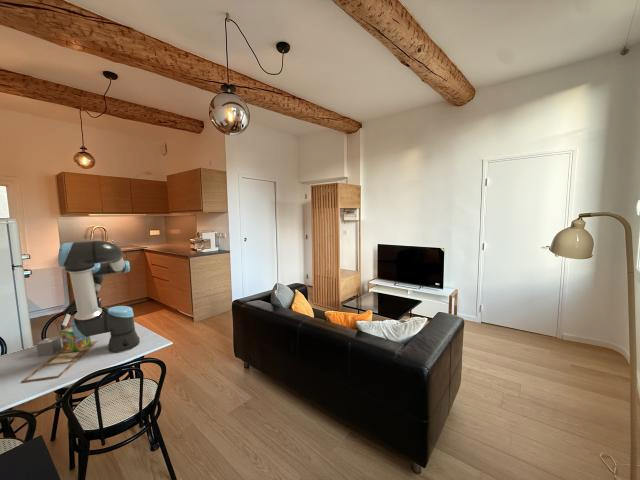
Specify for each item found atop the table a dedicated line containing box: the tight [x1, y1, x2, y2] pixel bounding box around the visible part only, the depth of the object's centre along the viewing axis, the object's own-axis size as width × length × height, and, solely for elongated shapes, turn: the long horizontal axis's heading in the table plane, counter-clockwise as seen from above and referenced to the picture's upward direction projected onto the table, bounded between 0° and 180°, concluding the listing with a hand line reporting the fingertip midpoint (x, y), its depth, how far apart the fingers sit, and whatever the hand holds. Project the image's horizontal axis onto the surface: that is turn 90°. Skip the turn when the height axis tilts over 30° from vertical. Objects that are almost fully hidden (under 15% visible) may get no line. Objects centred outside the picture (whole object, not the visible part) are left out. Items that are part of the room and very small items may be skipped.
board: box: [21, 340, 99, 384], centre depth 146 cm, size 35×14×1 cm, turn 14°
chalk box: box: [60, 326, 92, 352], centre depth 156 cm, size 9×9×15 cm
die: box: [35, 336, 63, 357], centre depth 153 cm, size 7×7×7 cm
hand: (77, 324), depth 158 cm, fingers open, 13 cm apart
